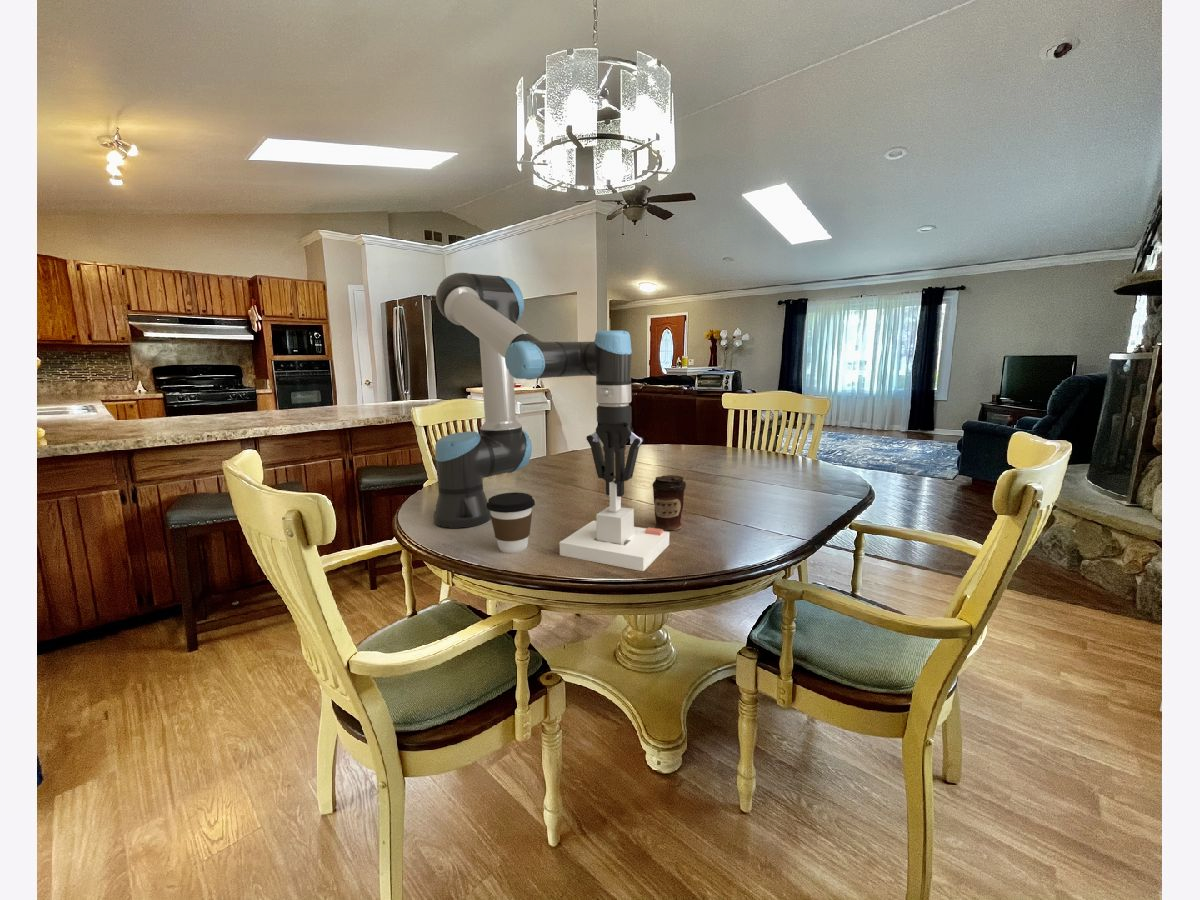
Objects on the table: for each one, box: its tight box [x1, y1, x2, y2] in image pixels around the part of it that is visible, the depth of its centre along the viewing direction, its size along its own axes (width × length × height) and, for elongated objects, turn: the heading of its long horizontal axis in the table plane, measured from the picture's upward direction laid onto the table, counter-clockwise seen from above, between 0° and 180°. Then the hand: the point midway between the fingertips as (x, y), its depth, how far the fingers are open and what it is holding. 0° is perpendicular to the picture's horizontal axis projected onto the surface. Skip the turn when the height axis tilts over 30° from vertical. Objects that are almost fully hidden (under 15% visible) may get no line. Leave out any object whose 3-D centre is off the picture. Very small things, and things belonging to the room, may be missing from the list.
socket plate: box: [558, 520, 670, 572], centre depth 113 cm, size 16×20×4 cm
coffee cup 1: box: [487, 492, 536, 554], centre depth 114 cm, size 11×11×12 cm
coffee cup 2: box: [652, 474, 687, 531], centre depth 126 cm, size 9×8×13 cm
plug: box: [595, 505, 635, 545], centre depth 113 cm, size 7×6×9 cm
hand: (615, 509), depth 112 cm, fingers closed
